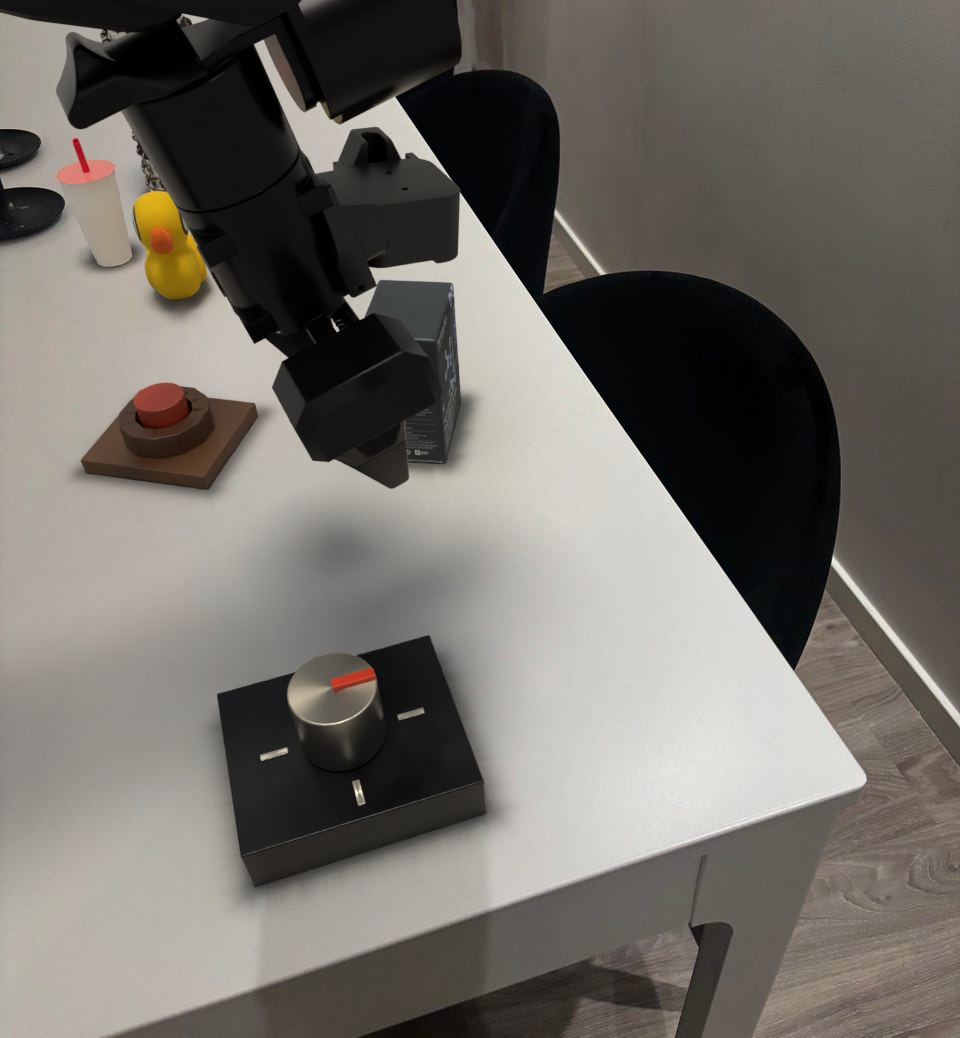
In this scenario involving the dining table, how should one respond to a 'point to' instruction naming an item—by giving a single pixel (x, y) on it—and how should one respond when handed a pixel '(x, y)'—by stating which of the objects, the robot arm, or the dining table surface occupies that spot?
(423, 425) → the box
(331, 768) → the knob
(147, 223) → the duckling
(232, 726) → the panel
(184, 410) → the button
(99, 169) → the cup
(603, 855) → the dining table surface
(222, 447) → the button block
